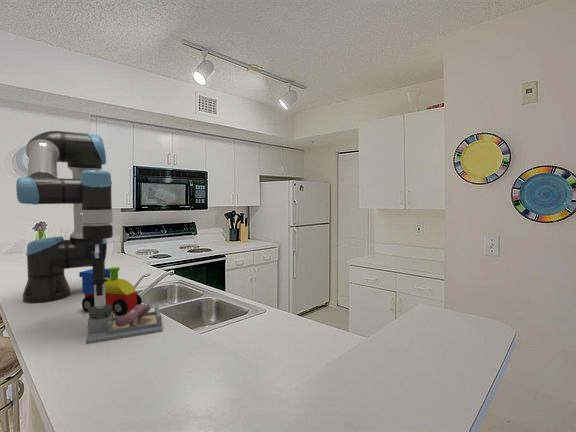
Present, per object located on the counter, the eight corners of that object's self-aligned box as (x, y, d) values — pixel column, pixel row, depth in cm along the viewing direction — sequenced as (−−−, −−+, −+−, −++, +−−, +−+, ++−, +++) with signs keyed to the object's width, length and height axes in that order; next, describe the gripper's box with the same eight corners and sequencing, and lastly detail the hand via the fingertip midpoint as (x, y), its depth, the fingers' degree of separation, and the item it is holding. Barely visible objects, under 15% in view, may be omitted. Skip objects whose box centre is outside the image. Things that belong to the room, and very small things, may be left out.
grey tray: (91, 323, 102) (91, 309, 102) (157, 314, 110) (157, 300, 110) (86, 343, 88) (85, 327, 87) (162, 331, 96) (161, 316, 96)
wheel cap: (90, 324, 97) (89, 305, 97) (113, 321, 100) (112, 302, 100) (87, 332, 92) (87, 311, 92) (112, 328, 95) (111, 308, 94)
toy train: (97, 304, 122) (95, 263, 121) (143, 308, 116) (142, 266, 116) (75, 312, 113) (74, 268, 112) (124, 317, 108) (123, 272, 107)
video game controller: (124, 334, 95) (136, 317, 94) (112, 324, 95) (125, 306, 94) (144, 321, 104) (156, 305, 103) (134, 312, 105) (146, 295, 104)
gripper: (85, 223, 99) (87, 301, 100) (79, 226, 87) (82, 314, 88) (113, 222, 102) (115, 297, 103) (111, 225, 90) (114, 310, 91)
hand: (100, 305), depth 96 cm, fingers closed
